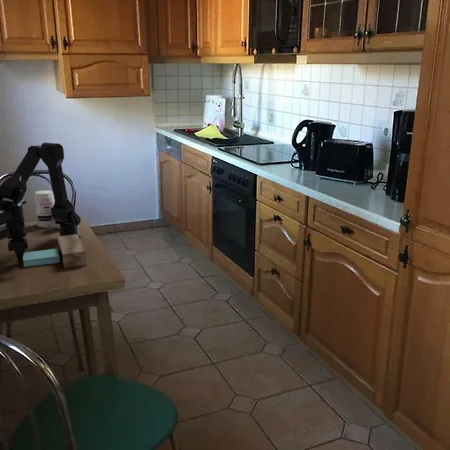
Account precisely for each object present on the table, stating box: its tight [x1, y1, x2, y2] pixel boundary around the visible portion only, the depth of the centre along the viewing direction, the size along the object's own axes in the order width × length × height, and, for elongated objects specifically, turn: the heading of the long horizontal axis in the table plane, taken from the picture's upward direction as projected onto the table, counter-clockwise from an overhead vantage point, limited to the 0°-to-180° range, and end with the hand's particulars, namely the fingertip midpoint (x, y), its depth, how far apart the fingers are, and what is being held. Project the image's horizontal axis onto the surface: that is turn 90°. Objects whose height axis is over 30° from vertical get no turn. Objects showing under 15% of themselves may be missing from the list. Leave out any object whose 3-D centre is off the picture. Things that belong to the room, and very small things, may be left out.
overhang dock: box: [56, 233, 87, 269], centre depth 189 cm, size 8×20×5 cm, turn 22°
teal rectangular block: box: [22, 248, 61, 268], centre depth 186 cm, size 12×8×2 cm, turn 112°
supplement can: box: [33, 189, 56, 229], centre depth 224 cm, size 8×8×15 cm
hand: (20, 261), depth 183 cm, fingers closed, pressing on teal rectangular block
